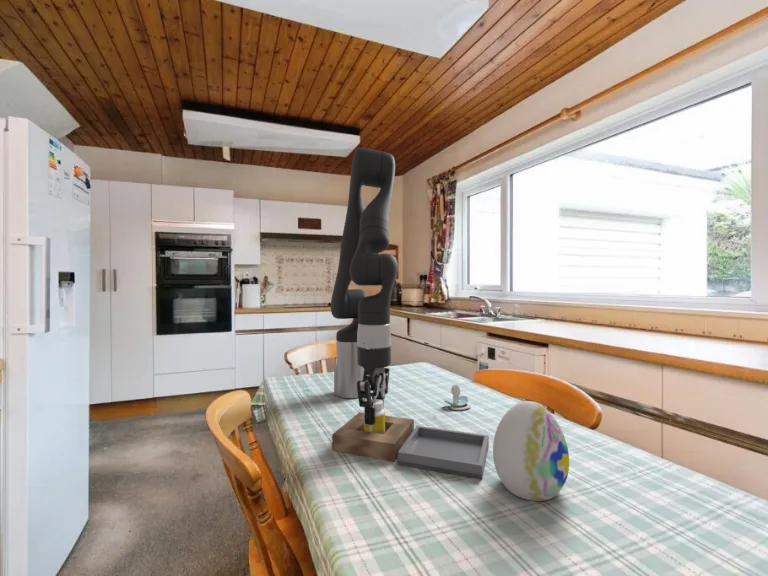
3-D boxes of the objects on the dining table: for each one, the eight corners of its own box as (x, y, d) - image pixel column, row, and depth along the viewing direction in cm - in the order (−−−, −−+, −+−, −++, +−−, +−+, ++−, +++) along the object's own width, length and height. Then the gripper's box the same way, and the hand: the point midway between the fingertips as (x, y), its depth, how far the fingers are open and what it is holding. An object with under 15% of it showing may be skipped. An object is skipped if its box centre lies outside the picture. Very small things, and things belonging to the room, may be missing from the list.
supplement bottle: (387, 435, 85) (387, 399, 85) (380, 444, 81) (380, 406, 80) (368, 433, 87) (368, 397, 86) (360, 441, 82) (360, 403, 82)
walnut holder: (332, 450, 79) (332, 434, 79) (359, 426, 92) (359, 412, 92) (394, 461, 74) (394, 444, 74) (413, 434, 88) (413, 419, 88)
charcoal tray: (398, 464, 73) (398, 452, 73) (416, 436, 86) (416, 425, 86) (482, 479, 68) (482, 465, 68) (488, 446, 81) (488, 435, 81)
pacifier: (475, 408, 105) (460, 402, 111) (475, 387, 105) (460, 381, 110) (456, 413, 102) (441, 406, 107) (456, 391, 101) (441, 385, 106)
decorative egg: (553, 519, 56) (554, 421, 56) (480, 488, 65) (480, 402, 64) (578, 486, 65) (579, 401, 65) (511, 463, 74) (511, 387, 73)
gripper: (370, 337, 91) (371, 407, 92) (344, 348, 78) (344, 429, 78) (400, 339, 88) (400, 411, 89) (378, 350, 75) (378, 434, 75)
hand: (374, 419), depth 84 cm, fingers closed on supplement bottle, 4 cm apart
